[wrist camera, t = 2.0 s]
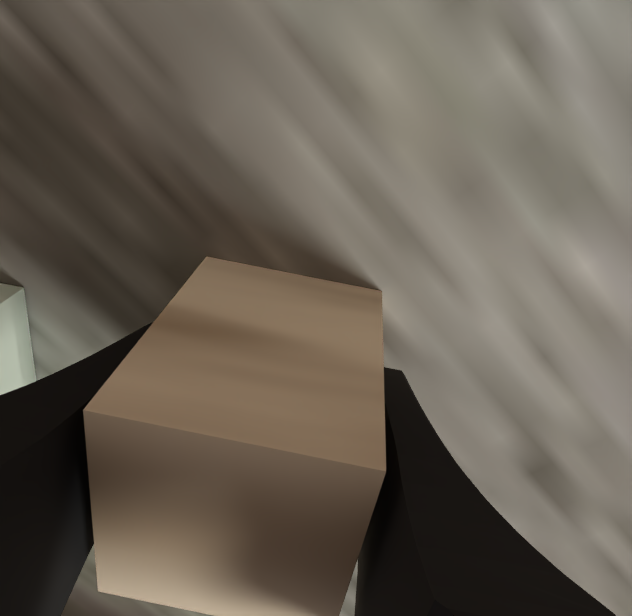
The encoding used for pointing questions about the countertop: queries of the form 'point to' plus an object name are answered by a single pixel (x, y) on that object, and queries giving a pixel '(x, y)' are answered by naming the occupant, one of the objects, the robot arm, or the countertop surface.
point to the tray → (14, 340)
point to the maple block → (241, 446)
